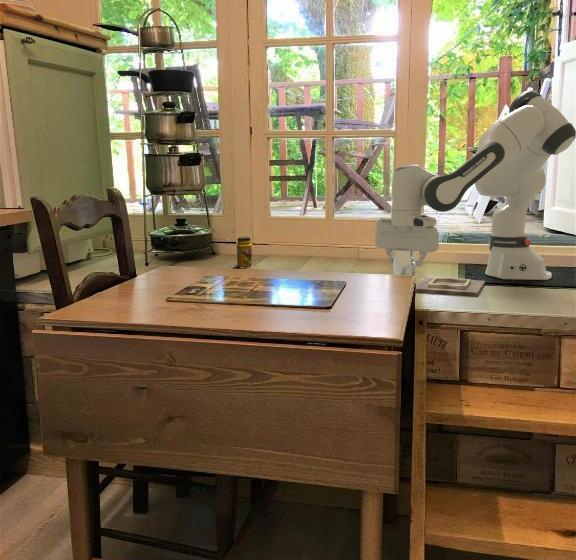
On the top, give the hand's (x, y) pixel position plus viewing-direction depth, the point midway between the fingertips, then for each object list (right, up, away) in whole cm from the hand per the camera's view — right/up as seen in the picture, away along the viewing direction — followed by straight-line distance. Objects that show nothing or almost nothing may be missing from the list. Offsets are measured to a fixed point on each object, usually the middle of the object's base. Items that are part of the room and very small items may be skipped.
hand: (405, 264), depth 190 cm
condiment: (-54, 0, +62) cm, 83 cm away
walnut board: (+17, -7, +14) cm, 24 cm away
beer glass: (0, -10, +2) cm, 11 cm away
